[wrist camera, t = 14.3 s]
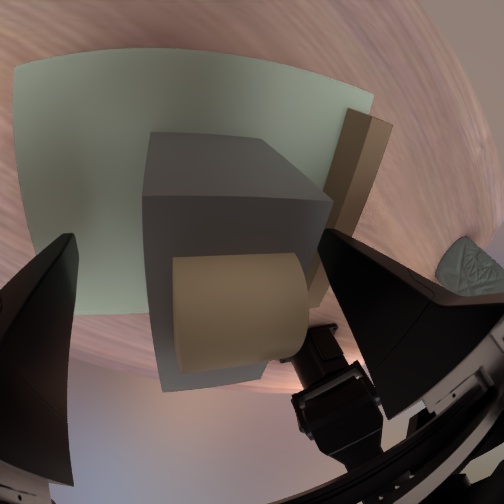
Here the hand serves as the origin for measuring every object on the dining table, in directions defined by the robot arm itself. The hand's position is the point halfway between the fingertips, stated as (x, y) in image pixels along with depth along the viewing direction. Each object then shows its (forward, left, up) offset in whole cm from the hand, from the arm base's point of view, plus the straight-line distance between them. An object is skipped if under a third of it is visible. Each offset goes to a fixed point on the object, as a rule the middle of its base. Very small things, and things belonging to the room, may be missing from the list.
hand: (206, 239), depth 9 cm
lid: (0, 0, -3) cm, 3 cm away
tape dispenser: (-1, 0, -2) cm, 2 cm away
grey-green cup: (-10, -40, -8) cm, 42 cm away
